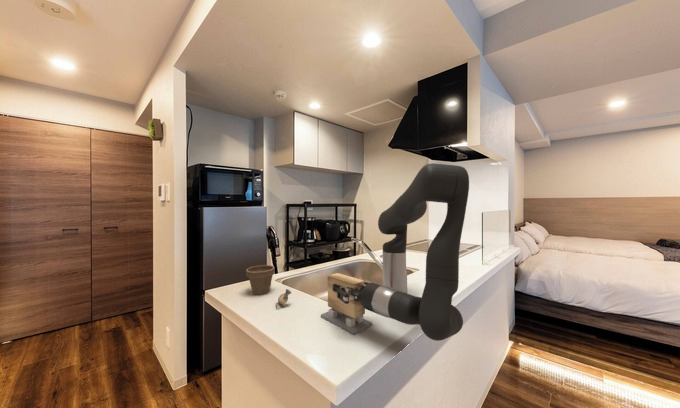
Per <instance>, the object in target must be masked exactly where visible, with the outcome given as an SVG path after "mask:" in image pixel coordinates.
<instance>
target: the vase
mask: <svg viewBox="0 0 680 408" xmlns="http://www.w3.org/2000/svg"><path fill="white" fill-rule="evenodd" d="M290 294H292V291H291V290H289V289H287V288H286V289H285V293H280V295H279V296H278V298H277V302H275V307H276V310H281V309H282V306H283V305H285V304H286V303H287V302H288V301H289V296H290Z"/></svg>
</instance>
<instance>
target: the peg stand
mask: <svg viewBox="0 0 680 408" xmlns="http://www.w3.org/2000/svg"><path fill="white" fill-rule="evenodd" d="M320 318H321V319H323V320H325V321H327V322H329V323H331V324H333V325H335V326H336V327H338V328H340V329H342V330H344V331H346V332H348V333H349V334H351V335H356V334H359V333H360V332H362V331H364V330H366V329H367V328H369V327H371V326H373V322H372V321H370V320H368V319H366V318H364V314H363V315H361V316H359V317H357V318H353V317H350V316H348V315H346V314H344V313H342V312H339V311H337V310H335V309H333V308H330V309H328V311H327V312H324V313H321V314H320Z"/></svg>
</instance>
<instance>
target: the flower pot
mask: <svg viewBox="0 0 680 408" xmlns="http://www.w3.org/2000/svg"><path fill="white" fill-rule="evenodd" d="M275 273H276V272H275V266H273V265H268V264H262V265H261V264H260V265H255V266H250V267H248V268H247V269H246V270H245V274H246V275H245V276H246V277H247V278H248V280H249V284H250V288H251V290H252V293H253V295H256V296H261V295H265V294H268V293H269V292H270V290H271V286H272V279H273V276H274V274H275Z"/></svg>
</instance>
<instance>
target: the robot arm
mask: <svg viewBox="0 0 680 408" xmlns="http://www.w3.org/2000/svg"><path fill="white" fill-rule="evenodd" d="M469 190H470V176H469V173H468V170H467V169H466V168H465V167H464V166H461V165H454V164H445V163H436V162H435V163H434V162H433V163H427V164H425V165H424V166H422V167H421V168H420V169H419V170H418V172H417V174H416V175H415V177H414V178H413V180H412V181H411V183H410V184H409V186H408V187H407V189H406V190H404V192H403V193H402V194H401V195H400V196H399V197H398V198H397V199H396V200H395V201H394V203H392V204H391V205H390V207H388V208H387V209H385V210H383V212H381V213H380V215H379V217H378V221H377V226H378V229H379V231H380V233H381V234H383V235H388V236H389V235H395V236H394V238H392V239H391V240H389V241H387V242H384V243H383V245H382V284H379V283H376V282H371V281H370V282H369V281H364V284H365V285H362V288H361V287H356V288H352V287H349V286H348V287H343V286H340V285H337V284H333V291H334V292H337V298H338V299H340V300H341V301H342V302H344V303H345V304H348V303H349V300H354V301H357V302H360V303H361V304H362V306H363V307H364V308H365V310H367V311H370V312H371V313H375V314H377V315H379V316H381V317H385V318H389V319H392V320H395V321H397V322H399V323H402V324H404V325H409V326H411V325H412V326H413V325H420V329H421V330H422V332H423V334H424V335H425V336H426V337H427V338H429V339H430V340H432V341H438V342H439V341H444V340H446V339H449V338H450V337H452V336H454V335H457V334H458V333H459V332H460V331H461V330H462V329H463V327H464V326H463V324H464V319H463V315H462V313H461V312H460V310H459V309H458V308H457V307H456V306H454V305H453V304H452V302H453V296H454V295H455V294H456V293H457V292H458V289H459V279H460V277H459V275H460V274H459V271H460V269H459V267H460V262H459V261H460V260H459V259H460V247H461V238H462V233H463V227H464V223H465V219H466V210H467V204H468V199H469ZM427 202H433V203H443V204H444V203H445V204H447V207H446V215H445V219H444V222H443V223H442V225H441V227H440V229H439V230H438V232H437V233H436V235H435V236H434V238H433V239H432V242H430V243H429V244H430V245H429V247H428V250H427V252H426V255H425V256H426V258H425V284H424V288H423V291H422V296H420V297H419V296H416V295H412V294H410V293H408V269H407V244H408V243H407V238H408V225H410V224H413V223H415V222H416V221H418V220H420V219H421V218H422V217H423V216H424V215H425V214H426V212H427V209H428V203H427ZM349 289H351V295H349ZM344 290H346V292H345V291H344Z"/></svg>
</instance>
